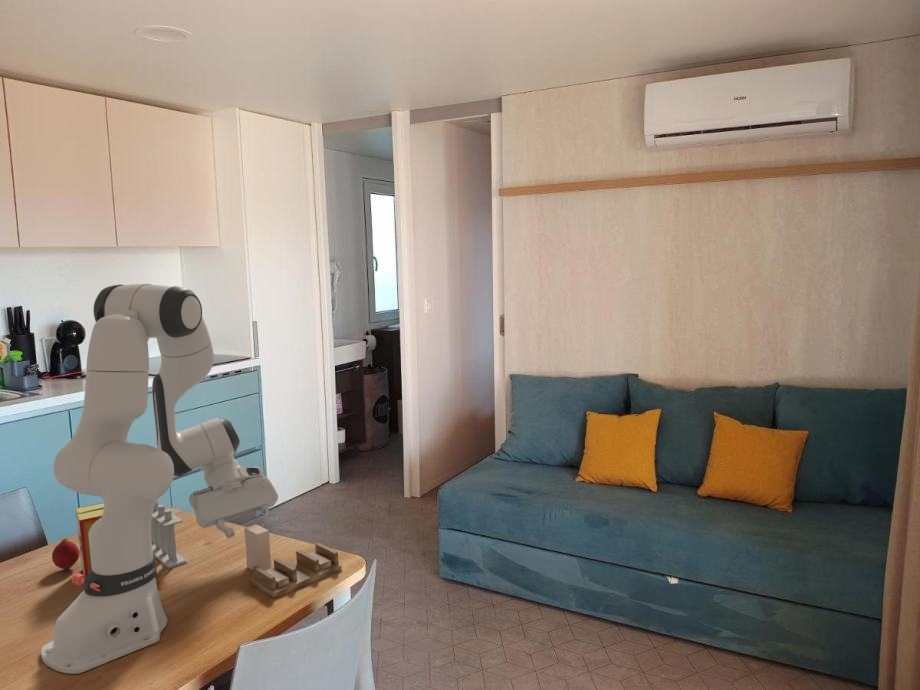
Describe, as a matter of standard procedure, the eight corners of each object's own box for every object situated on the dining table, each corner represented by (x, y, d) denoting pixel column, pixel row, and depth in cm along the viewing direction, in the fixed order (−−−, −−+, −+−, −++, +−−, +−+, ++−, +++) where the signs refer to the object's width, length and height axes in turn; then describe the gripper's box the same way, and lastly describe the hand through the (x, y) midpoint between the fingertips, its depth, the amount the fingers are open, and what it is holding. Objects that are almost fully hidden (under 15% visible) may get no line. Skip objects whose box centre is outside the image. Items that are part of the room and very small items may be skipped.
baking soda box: (117, 577, 163) (110, 512, 161) (86, 585, 159) (79, 519, 157) (111, 562, 171) (105, 500, 168) (82, 570, 167) (75, 506, 165)
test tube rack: (133, 539, 185) (129, 492, 183) (150, 534, 188) (146, 487, 186) (168, 569, 167) (163, 516, 165) (186, 563, 170) (182, 511, 168)
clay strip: (259, 574, 162) (257, 534, 161) (247, 567, 166) (244, 527, 165) (271, 570, 164) (268, 530, 163) (258, 562, 169) (255, 523, 167)
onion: (79, 572, 166) (75, 540, 165) (51, 577, 164) (48, 544, 163) (82, 562, 171) (79, 531, 170) (55, 566, 169) (52, 535, 168)
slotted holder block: (274, 598, 151) (273, 580, 150) (251, 583, 158) (249, 566, 157) (341, 569, 164) (340, 553, 163) (317, 557, 171) (316, 541, 170)
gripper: (189, 487, 163) (212, 537, 158) (267, 465, 177) (290, 511, 172) (182, 500, 167) (204, 550, 161) (259, 478, 181) (281, 524, 176)
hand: (249, 530), depth 167 cm, fingers open, 8 cm apart
